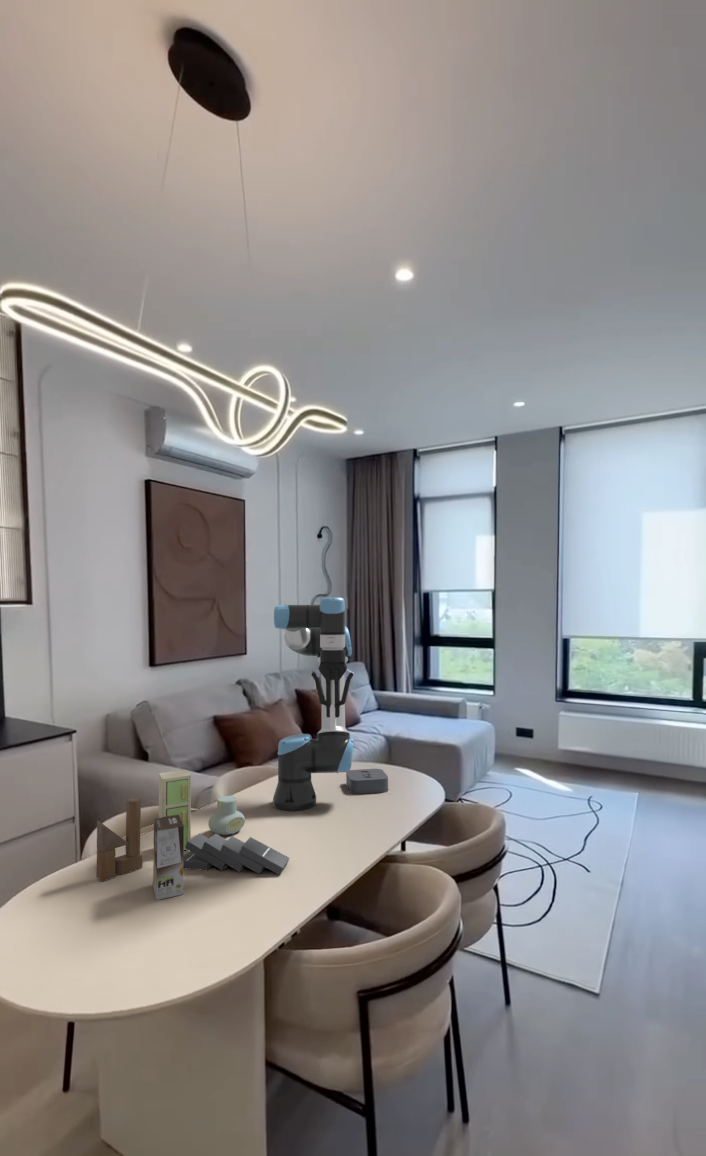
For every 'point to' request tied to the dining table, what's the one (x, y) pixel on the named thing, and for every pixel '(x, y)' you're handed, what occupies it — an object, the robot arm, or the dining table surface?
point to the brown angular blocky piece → (120, 845)
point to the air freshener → (226, 817)
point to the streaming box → (366, 781)
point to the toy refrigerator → (176, 798)
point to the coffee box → (168, 856)
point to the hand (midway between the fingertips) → (333, 728)
